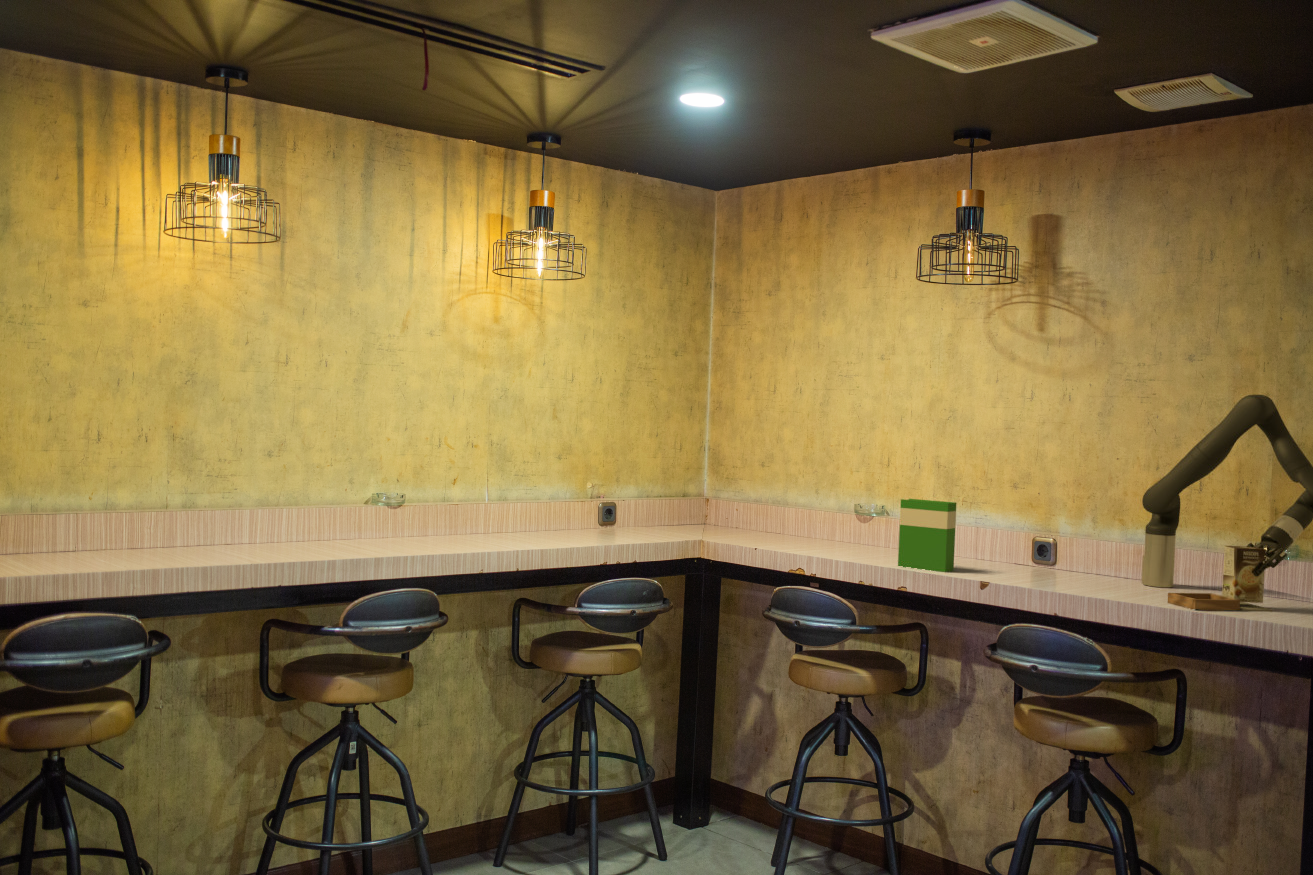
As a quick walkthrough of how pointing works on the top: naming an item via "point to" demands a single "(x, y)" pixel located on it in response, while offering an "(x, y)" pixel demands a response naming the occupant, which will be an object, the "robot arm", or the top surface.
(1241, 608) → the rubber mat
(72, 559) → the top surface
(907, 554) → the green cereal box
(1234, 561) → the coffee box
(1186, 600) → the walnut cradle
